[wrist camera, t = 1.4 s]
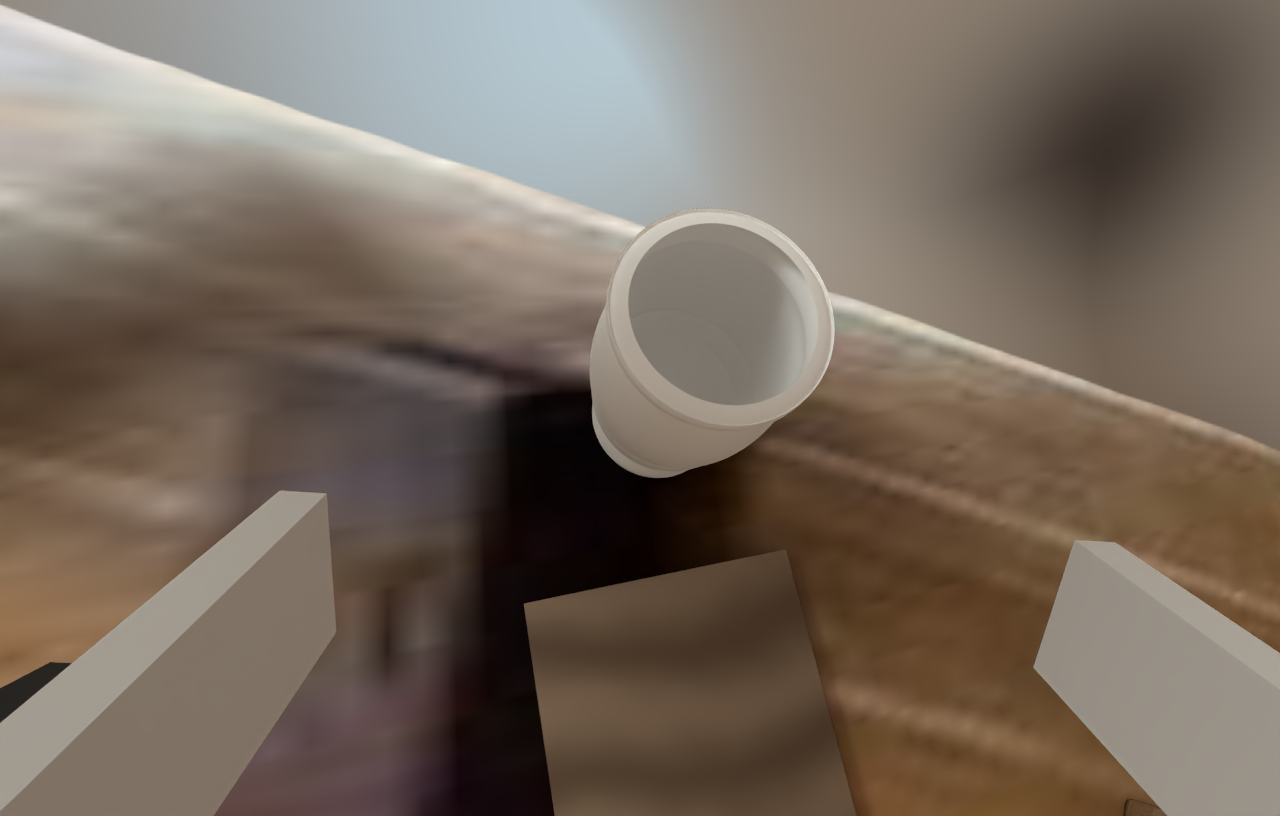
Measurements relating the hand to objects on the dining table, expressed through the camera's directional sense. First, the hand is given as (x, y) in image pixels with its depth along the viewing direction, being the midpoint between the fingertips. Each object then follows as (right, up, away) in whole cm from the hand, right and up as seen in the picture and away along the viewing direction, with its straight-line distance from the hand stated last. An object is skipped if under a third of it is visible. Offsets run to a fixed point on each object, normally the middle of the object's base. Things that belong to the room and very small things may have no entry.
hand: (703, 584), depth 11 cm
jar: (0, +3, +30) cm, 30 cm away
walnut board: (+2, -16, +24) cm, 29 cm away
